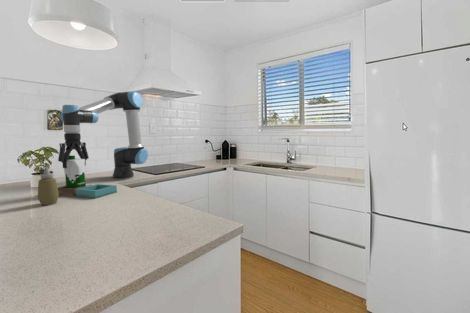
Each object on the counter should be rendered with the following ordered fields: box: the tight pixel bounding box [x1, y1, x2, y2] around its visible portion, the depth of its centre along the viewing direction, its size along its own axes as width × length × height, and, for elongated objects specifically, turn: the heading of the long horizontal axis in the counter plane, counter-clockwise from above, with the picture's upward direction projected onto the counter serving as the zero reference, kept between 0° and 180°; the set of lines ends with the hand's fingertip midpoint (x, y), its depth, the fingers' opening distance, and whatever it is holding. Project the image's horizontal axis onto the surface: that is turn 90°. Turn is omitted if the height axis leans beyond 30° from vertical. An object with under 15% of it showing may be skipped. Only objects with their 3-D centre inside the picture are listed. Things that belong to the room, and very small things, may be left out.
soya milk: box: [64, 155, 87, 189], centre depth 135 cm, size 9×9×20 cm
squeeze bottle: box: [37, 166, 60, 206], centre depth 114 cm, size 8×8×18 cm
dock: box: [57, 184, 93, 197], centre depth 135 cm, size 11×13×4 cm
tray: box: [75, 183, 118, 200], centre depth 132 cm, size 14×14×4 cm
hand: (75, 172), depth 135 cm, fingers closed on soya milk, 9 cm apart
